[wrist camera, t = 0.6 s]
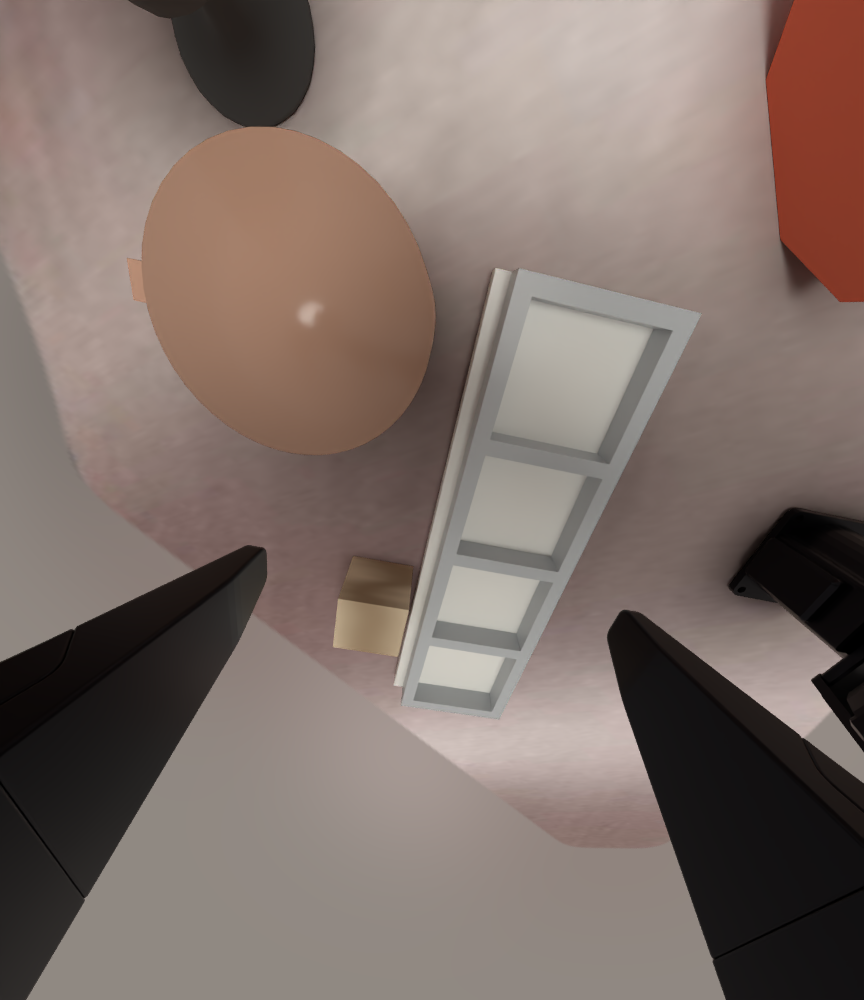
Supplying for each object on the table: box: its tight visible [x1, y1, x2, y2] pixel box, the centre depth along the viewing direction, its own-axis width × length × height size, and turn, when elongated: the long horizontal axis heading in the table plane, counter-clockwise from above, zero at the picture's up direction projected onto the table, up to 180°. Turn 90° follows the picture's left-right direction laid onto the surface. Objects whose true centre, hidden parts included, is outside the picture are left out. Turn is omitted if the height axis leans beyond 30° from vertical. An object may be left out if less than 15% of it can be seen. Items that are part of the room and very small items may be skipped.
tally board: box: [394, 268, 702, 719], centre depth 21 cm, size 9×28×2 cm, turn 168°
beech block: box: [333, 556, 413, 657], centre depth 23 cm, size 4×4×4 cm
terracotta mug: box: [127, 127, 436, 455], centre depth 13 cm, size 8×7×9 cm
